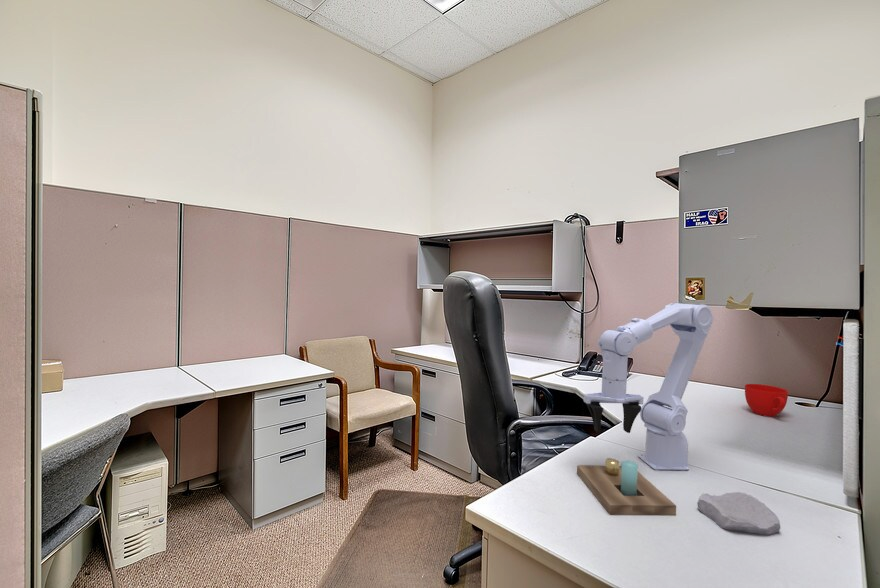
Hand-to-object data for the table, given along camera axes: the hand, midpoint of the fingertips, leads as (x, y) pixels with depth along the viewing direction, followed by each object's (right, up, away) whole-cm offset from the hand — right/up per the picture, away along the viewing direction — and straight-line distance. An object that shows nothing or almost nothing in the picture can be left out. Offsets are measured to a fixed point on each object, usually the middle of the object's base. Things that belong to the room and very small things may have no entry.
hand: (611, 431), depth 102 cm
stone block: (+18, -12, -20) cm, 29 cm away
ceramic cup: (+81, -12, +51) cm, 96 cm away
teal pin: (-2, -11, -13) cm, 17 cm away
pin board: (-2, -11, -10) cm, 15 cm away
